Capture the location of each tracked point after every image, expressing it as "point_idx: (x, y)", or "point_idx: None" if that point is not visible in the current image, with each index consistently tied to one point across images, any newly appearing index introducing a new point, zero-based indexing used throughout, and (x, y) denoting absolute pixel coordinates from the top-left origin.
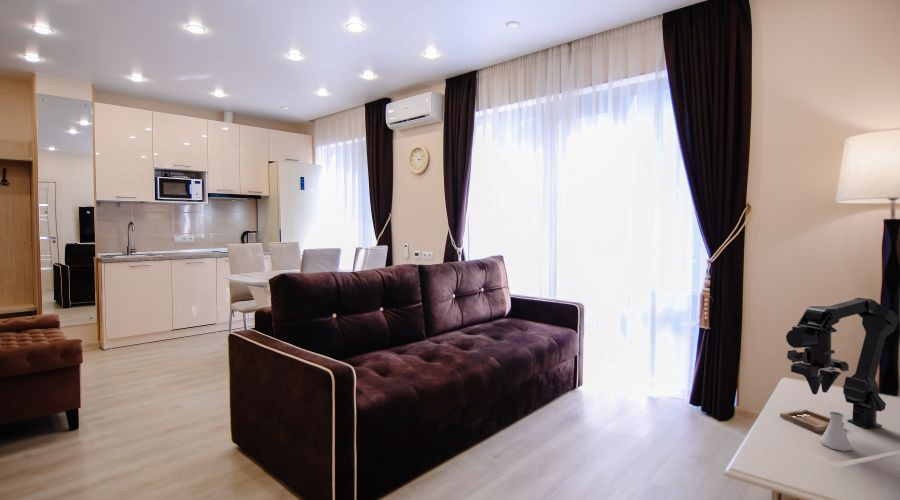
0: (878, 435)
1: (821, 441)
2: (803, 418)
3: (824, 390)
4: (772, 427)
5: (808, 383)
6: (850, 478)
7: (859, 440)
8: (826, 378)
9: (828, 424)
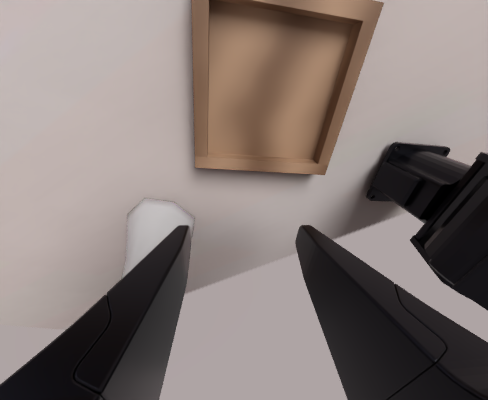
0: (339, 219)
1: (136, 207)
2: (280, 57)
3: (300, 247)
4: (57, 44)
5: (104, 296)
6: (45, 304)
7: (260, 222)
8: (375, 378)
9: (261, 166)
